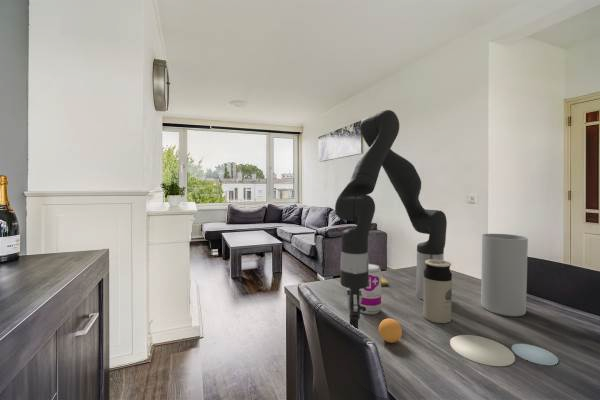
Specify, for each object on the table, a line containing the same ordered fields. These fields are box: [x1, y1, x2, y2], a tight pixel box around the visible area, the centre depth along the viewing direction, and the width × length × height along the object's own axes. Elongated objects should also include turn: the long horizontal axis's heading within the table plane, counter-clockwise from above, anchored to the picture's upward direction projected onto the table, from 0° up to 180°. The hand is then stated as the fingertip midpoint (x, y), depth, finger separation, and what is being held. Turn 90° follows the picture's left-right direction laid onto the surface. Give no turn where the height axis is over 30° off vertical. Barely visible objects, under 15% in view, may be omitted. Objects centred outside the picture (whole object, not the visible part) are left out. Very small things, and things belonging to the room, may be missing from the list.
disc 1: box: [449, 334, 516, 367], centre depth 74 cm, size 14×14×1 cm
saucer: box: [381, 276, 389, 286], centre depth 126 cm, size 9×9×2 cm
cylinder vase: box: [480, 233, 529, 317], centre depth 98 cm, size 12×12×25 cm
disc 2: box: [511, 343, 559, 366], centre depth 71 cm, size 9×9×1 cm
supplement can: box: [359, 263, 382, 315], centre depth 98 cm, size 8×8×15 cm
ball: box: [378, 318, 403, 344], centre depth 78 cm, size 6×6×6 cm
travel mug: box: [422, 260, 453, 324], centre depth 91 cm, size 8×8×18 cm
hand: (353, 330), depth 79 cm, fingers closed
